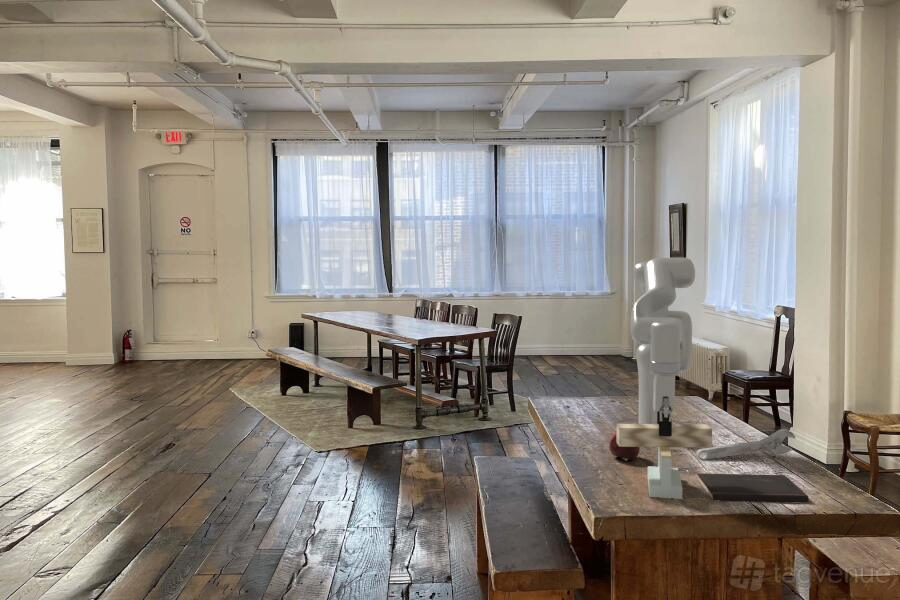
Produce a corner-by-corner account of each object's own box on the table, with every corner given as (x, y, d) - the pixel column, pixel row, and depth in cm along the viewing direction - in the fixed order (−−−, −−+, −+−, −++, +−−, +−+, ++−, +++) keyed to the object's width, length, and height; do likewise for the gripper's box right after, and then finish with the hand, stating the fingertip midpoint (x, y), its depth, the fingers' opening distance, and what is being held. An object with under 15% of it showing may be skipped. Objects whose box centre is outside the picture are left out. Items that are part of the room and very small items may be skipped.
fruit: (626, 465, 205) (626, 431, 204) (602, 457, 212) (602, 425, 212) (647, 459, 210) (647, 426, 209) (623, 452, 217) (623, 420, 217)
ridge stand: (647, 476, 194) (647, 437, 193) (677, 478, 192) (678, 439, 191) (649, 496, 179) (649, 454, 178) (682, 499, 177) (682, 456, 176)
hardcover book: (697, 481, 192) (697, 473, 191) (784, 483, 189) (784, 474, 189) (712, 503, 176) (712, 494, 175) (808, 505, 173) (808, 496, 173)
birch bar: (706, 442, 188) (707, 424, 188) (711, 447, 184) (712, 428, 183) (616, 441, 190) (616, 423, 189) (619, 446, 185) (619, 428, 185)
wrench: (697, 467, 211) (794, 453, 212) (699, 469, 209) (797, 455, 210) (694, 441, 210) (791, 427, 211) (697, 443, 208) (795, 429, 209)
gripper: (649, 361, 194) (648, 421, 196) (651, 373, 178) (650, 439, 179) (677, 362, 192) (676, 423, 194) (682, 374, 176) (681, 441, 177)
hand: (664, 430), depth 187 cm, fingers open, 9 cm apart
